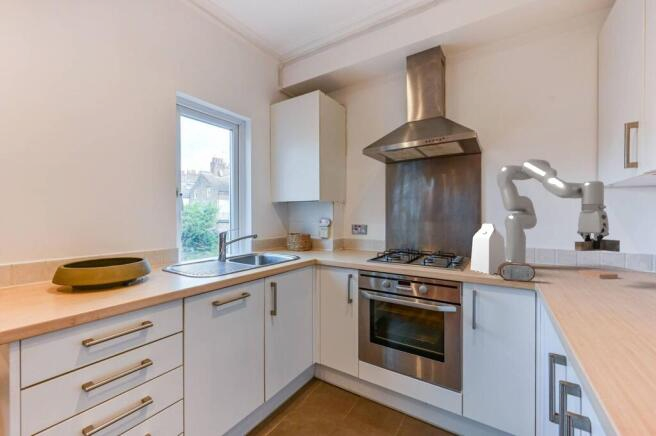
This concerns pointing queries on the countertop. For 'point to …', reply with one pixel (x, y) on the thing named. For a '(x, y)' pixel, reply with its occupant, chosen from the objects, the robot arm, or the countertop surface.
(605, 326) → the countertop surface
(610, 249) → the brown angular block
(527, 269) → the tin
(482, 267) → the milk
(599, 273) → the tile
